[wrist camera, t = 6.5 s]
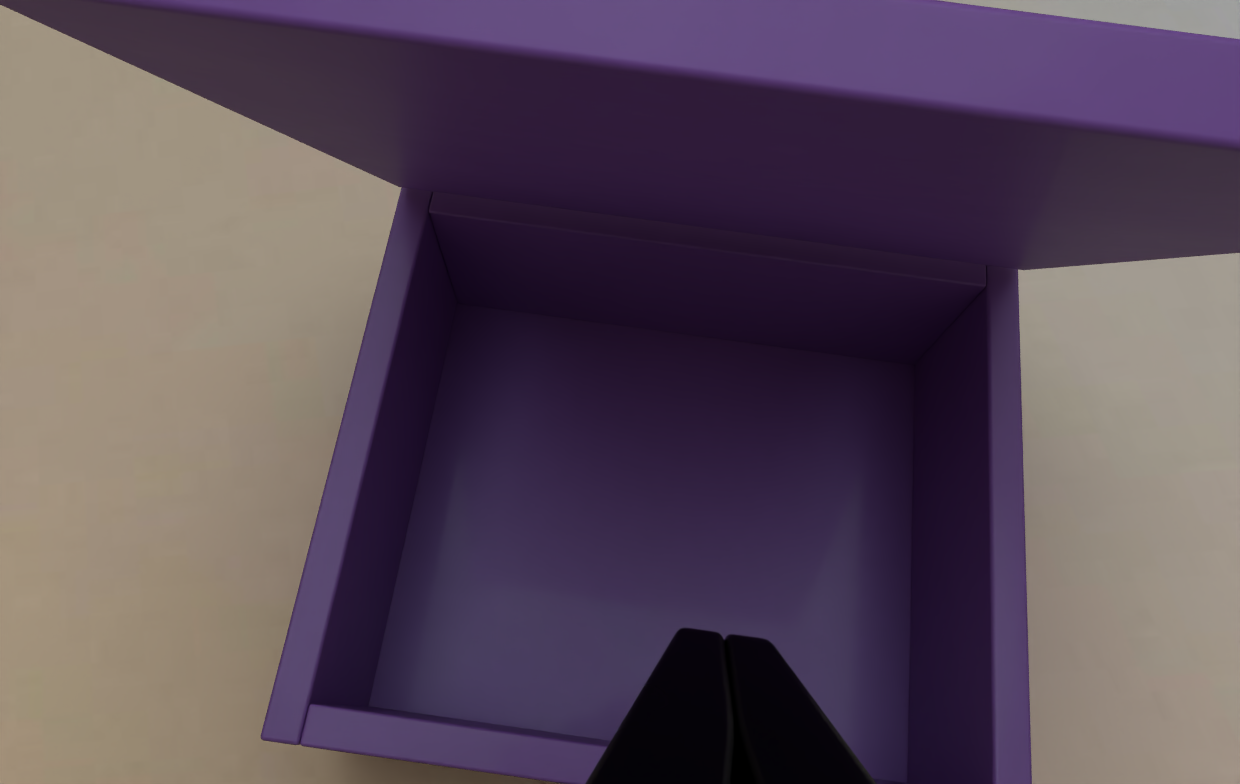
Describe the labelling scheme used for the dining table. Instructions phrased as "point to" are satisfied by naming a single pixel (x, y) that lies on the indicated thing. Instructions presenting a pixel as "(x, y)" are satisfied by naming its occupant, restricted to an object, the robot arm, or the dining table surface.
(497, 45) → the lid
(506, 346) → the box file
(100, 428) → the dining table surface
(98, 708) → the dining table surface
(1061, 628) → the dining table surface
